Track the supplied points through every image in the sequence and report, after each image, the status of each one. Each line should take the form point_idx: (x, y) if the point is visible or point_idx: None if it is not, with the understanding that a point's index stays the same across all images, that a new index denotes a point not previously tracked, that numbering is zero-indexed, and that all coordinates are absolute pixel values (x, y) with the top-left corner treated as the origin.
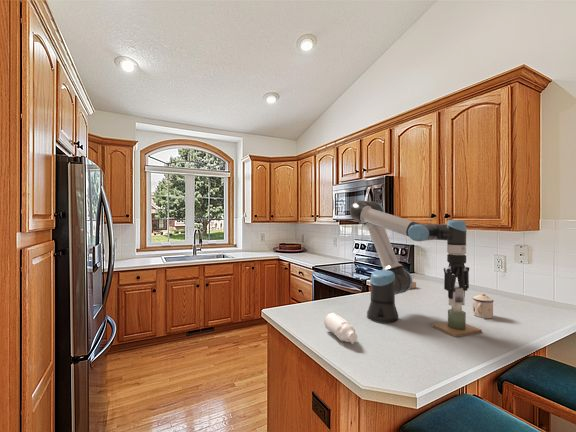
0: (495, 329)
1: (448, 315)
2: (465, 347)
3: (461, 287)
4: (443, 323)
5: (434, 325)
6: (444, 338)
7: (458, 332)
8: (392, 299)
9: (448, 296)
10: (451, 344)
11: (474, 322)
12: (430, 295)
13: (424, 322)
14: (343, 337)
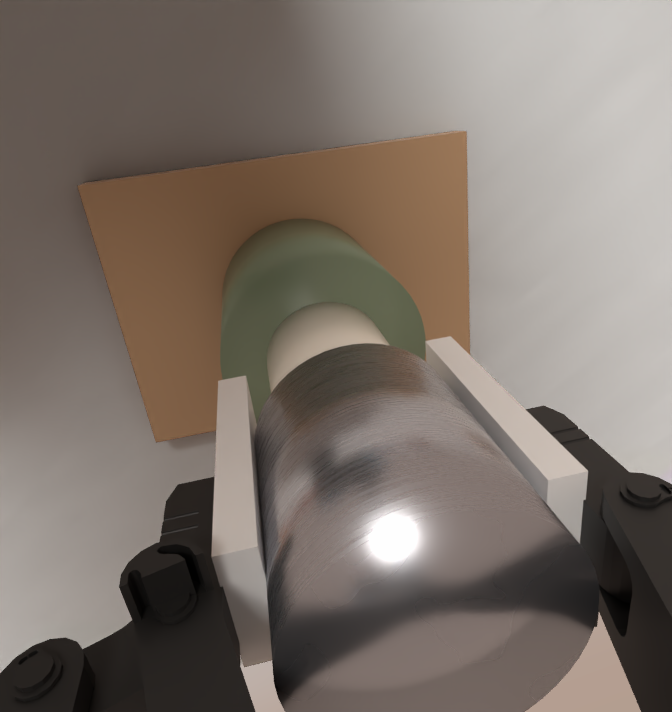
0: (619, 335)
1: (225, 310)
2: (106, 576)
3: (567, 644)
4: (237, 179)
5: (86, 214)
6: (40, 440)
7: (214, 412)
8: None
9: (166, 518)
10: (29, 534)
11: (629, 151)
12: None
13: (73, 3)
14: None
